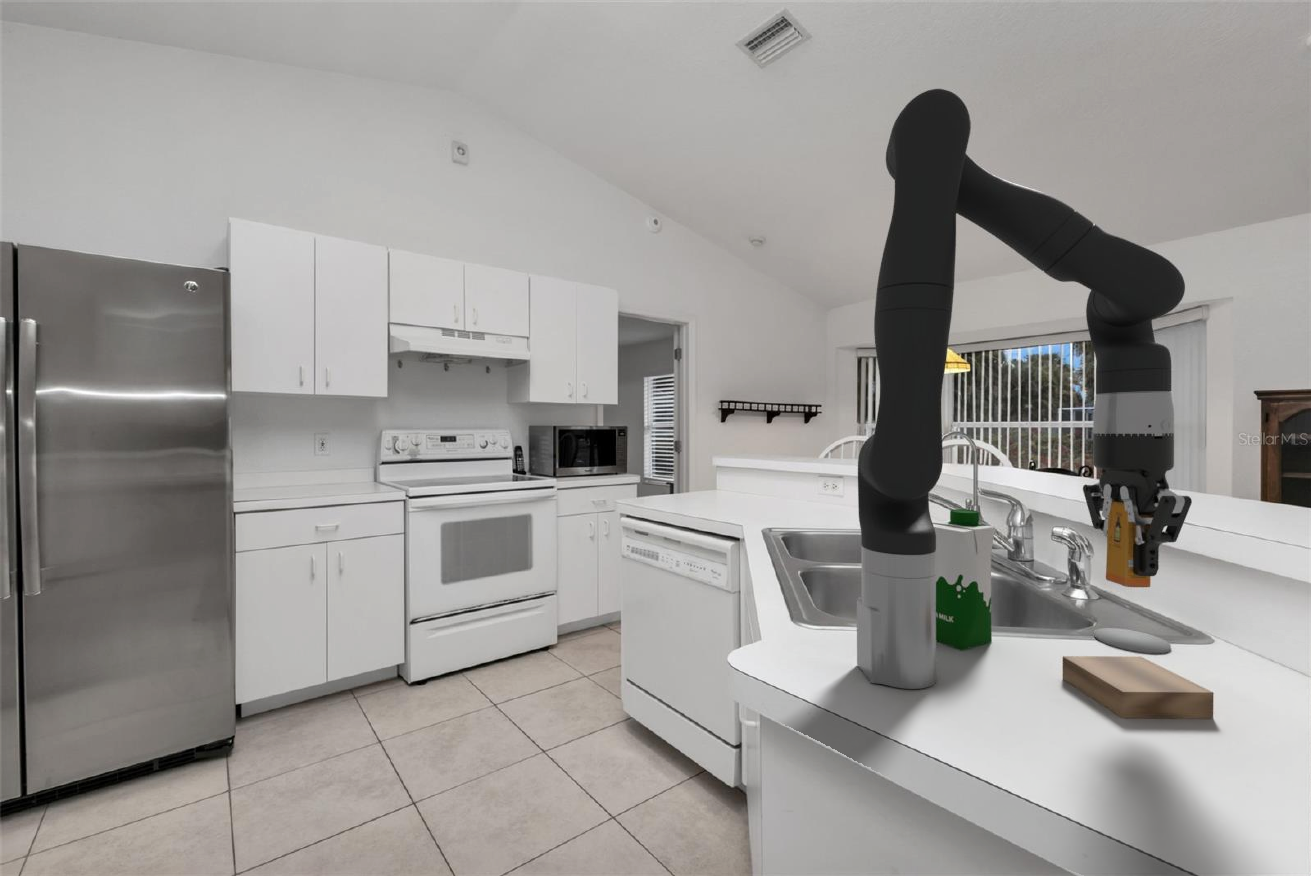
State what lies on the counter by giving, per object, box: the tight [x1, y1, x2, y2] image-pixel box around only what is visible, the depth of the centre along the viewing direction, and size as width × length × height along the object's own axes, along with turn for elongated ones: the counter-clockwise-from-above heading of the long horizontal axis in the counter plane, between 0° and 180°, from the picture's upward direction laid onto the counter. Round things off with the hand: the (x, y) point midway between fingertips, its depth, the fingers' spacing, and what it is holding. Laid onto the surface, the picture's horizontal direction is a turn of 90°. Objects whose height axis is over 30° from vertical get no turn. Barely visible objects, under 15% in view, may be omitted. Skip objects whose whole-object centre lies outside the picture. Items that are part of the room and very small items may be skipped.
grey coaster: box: [1093, 627, 1172, 654], centre depth 87 cm, size 9×9×1 cm
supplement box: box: [1105, 502, 1152, 588], centre depth 69 cm, size 3×3×10 cm
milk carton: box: [932, 508, 996, 651], centre depth 88 cm, size 9×9×20 cm
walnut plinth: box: [1062, 655, 1214, 720], centre depth 69 cm, size 10×10×3 cm
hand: (1131, 570), depth 69 cm, fingers closed on supplement box, 3 cm apart
